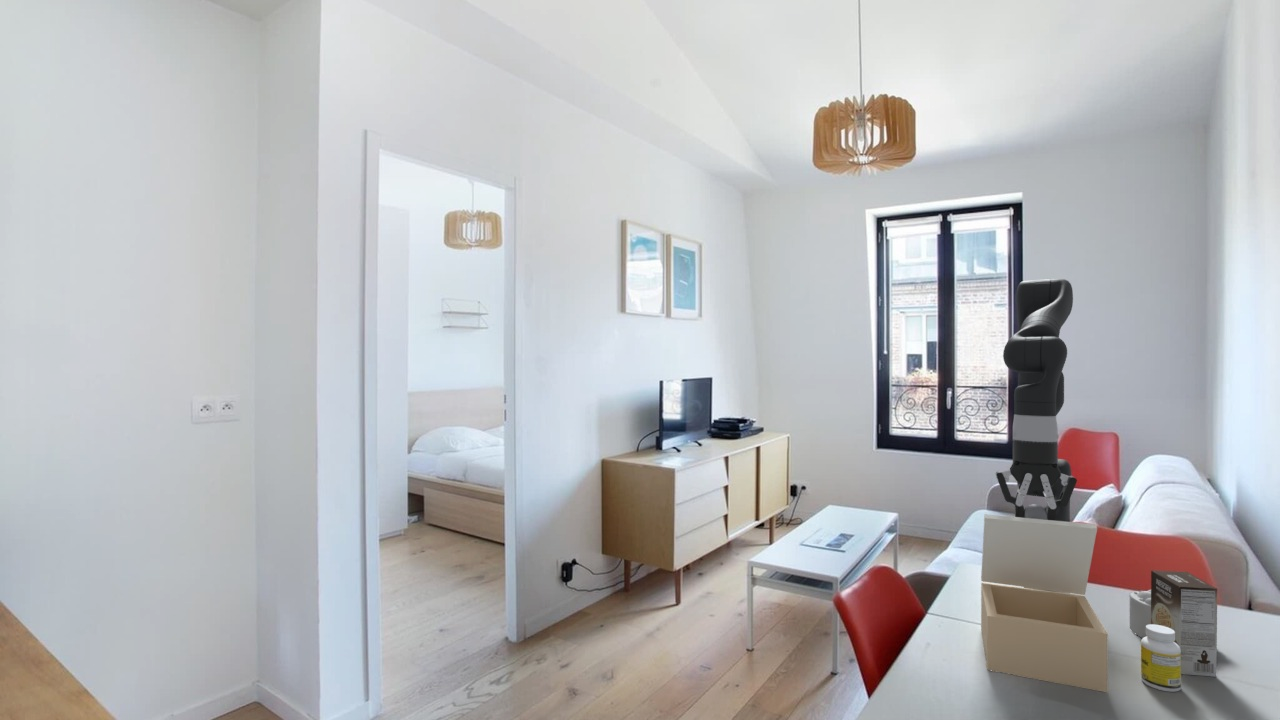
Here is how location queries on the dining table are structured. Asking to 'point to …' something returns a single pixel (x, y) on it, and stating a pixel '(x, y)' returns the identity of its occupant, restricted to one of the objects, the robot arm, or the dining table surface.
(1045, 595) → the carton
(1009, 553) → the lid
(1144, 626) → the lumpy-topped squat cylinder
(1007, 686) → the dining table surface
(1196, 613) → the coffee box
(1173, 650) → the supplement bottle
